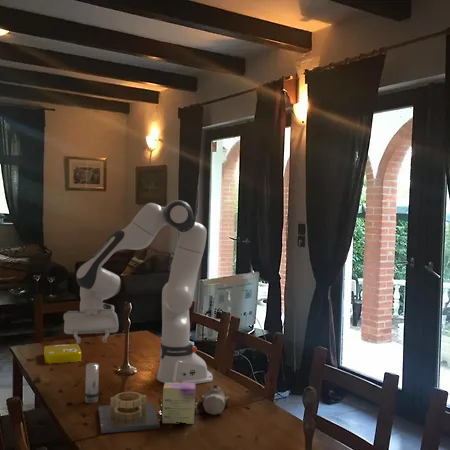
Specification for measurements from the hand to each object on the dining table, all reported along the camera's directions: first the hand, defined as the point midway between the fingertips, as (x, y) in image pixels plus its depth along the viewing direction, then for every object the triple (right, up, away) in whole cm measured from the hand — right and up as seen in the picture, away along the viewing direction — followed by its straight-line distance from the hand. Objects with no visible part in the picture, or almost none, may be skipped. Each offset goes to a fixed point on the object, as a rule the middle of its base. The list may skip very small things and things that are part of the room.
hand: (91, 342), depth 200 cm
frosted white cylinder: (+3, -19, -11) cm, 22 cm away
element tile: (-22, -16, +37) cm, 46 cm away
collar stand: (+18, -20, -25) cm, 37 cm away
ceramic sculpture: (+46, -21, -14) cm, 52 cm away
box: (+35, -21, -25) cm, 47 cm away
